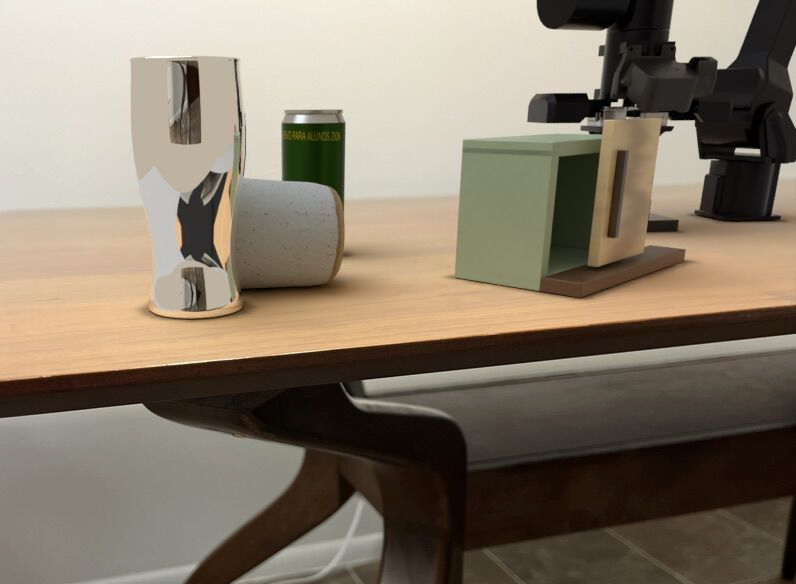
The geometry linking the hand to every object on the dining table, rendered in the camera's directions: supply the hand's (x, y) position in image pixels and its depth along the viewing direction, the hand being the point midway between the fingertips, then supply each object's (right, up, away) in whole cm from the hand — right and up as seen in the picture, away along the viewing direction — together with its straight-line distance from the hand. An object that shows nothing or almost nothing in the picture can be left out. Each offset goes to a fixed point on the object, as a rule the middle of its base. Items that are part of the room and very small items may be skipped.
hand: (617, 196), depth 84 cm
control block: (0, -3, +1) cm, 3 cm away
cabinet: (-11, -10, -20) cm, 25 cm away
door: (-9, -10, -23) cm, 27 cm away
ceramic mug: (-35, -12, -24) cm, 44 cm away
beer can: (-32, -8, -12) cm, 35 cm away
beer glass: (-40, -15, -31) cm, 53 cm away
